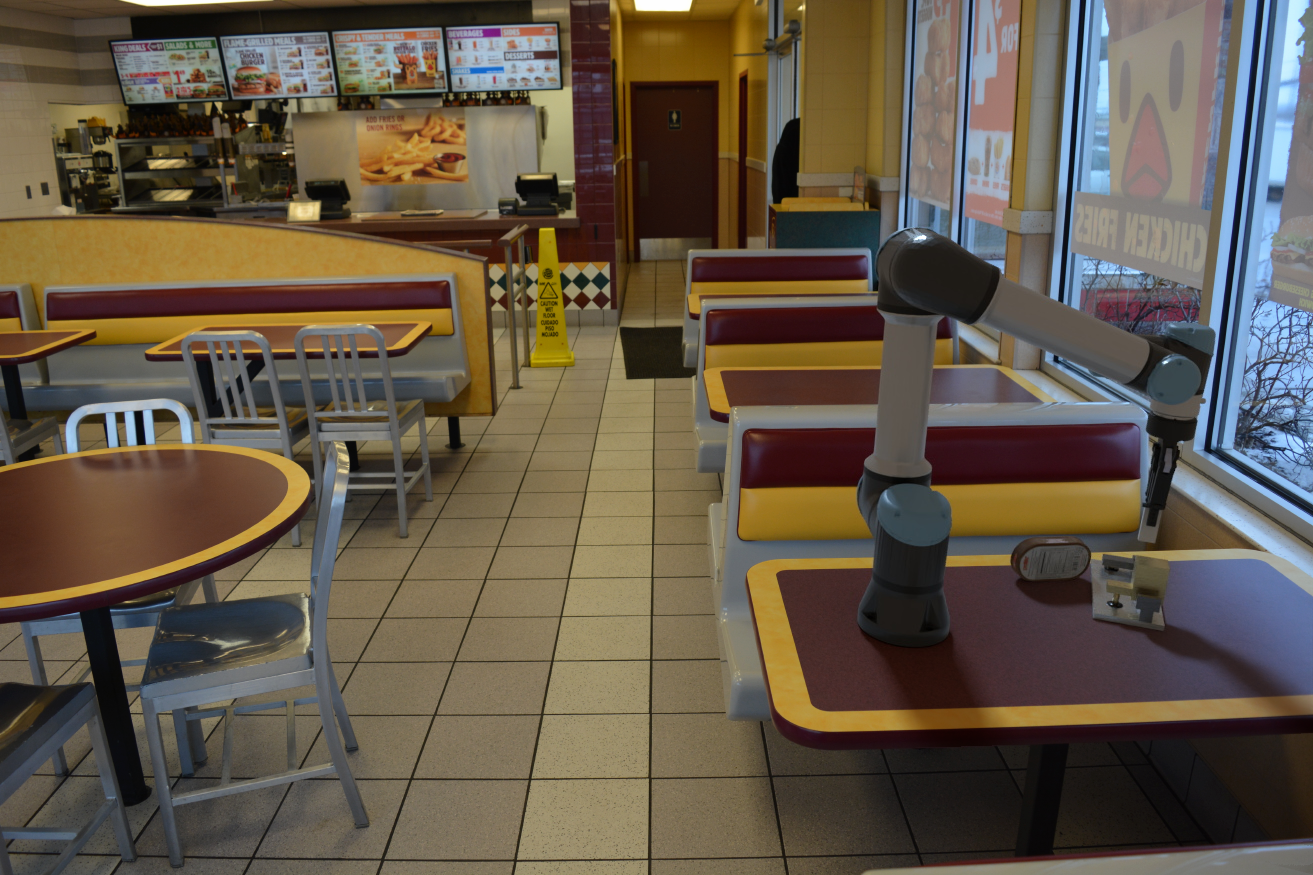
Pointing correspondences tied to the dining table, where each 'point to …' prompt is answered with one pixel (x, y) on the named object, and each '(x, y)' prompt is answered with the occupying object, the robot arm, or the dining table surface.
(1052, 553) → the tin
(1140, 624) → the bolt plate
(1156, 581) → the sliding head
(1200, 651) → the dining table surface
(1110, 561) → the grey slide rail base
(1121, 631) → the dining table surface
